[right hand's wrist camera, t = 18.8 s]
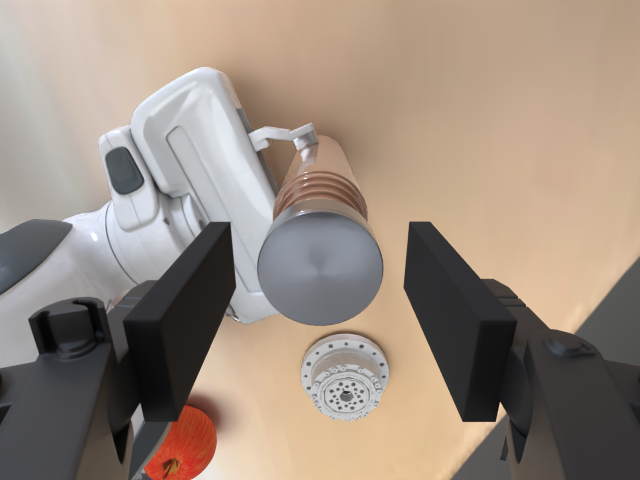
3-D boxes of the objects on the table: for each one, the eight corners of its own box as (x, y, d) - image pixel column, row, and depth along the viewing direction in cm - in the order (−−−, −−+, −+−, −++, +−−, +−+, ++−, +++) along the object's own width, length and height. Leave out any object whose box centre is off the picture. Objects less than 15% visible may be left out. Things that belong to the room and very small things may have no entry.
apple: (143, 418, 46) (109, 480, 39) (184, 382, 44) (157, 439, 37) (194, 452, 48) (171, 517, 41) (235, 419, 46) (219, 480, 39)
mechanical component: (287, 348, 43) (320, 411, 46) (284, 375, 38) (320, 442, 42) (370, 320, 41) (397, 387, 45) (376, 345, 37) (405, 416, 40)
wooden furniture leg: (354, 150, 35) (411, 238, 13) (330, 194, 36) (346, 339, 15) (309, 125, 34) (289, 176, 12) (286, 171, 36) (233, 289, 14)
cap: (270, 305, 15) (264, 329, 14) (257, 201, 14) (249, 215, 12) (377, 299, 15) (383, 322, 14) (375, 194, 14) (383, 207, 12)
